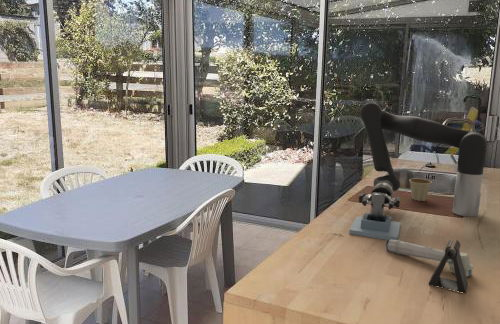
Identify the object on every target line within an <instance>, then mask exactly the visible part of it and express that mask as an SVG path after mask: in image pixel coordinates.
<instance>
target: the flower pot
mask: <svg viewBox="0 0 500 324" xmlns="http://www.w3.org/2000/svg"><path fill="white" fill-rule="evenodd" d="M409 183H410V191H411V192H410V194H411V199H412V200H413V199H414V200H413V201H416V200H417V202H420V201H422V202H426V201H427V198H428V195H429V191H430V187H431V184H432V183H433V182H432V181H431V180H429V179H425V178H410V179H409Z"/></svg>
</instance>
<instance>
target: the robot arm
mask: <svg viewBox="0 0 500 324" xmlns="http://www.w3.org/2000/svg"><path fill="white" fill-rule="evenodd" d="M359 116H360V118H361V121H363V125H364V126H365V130H366V133H367V137H368V143H369V147H370V152H371V157H372V163H373V166H374V170H375V172H381V173H382V172H386V173H387V175H382V176H377V177H376V178H374V179H373V189H372V190H371V192H370V193H369V194H366V192H365V191H362V192H360V194H359V195H358V203H361V205H363V207H366V206H367V205H368V204H369V205H371V202H372V193H373V192H380V193H384V194H385V201H384V207H388V210H391V209H394V207H395V208H399V209H400V204H401V202H400V201H401V197H400V196H396V197H393V196H394V195H393V194H394V192H396V191H399V190H400V187H401V181H400V179H399V178H398V176H397V174H396V172H395V170H394V168H393V166H392V161H391V158H390V153H389V150H388V149H389V148H388V146H387V142H386V140H385V137H384V133H383V130H385V131H390V132H392V133H396V134H398V135H401V136H405V137H407V138H411V139H414V140H417V141H420V142H425V143H432V144H440V145H447V146H451V147H453V148H456V149H458V155H457V157H458V158H457V169H456V179H455V185H454V193H453V194H454V196H453V204H452V211H451V212H452V213H453V214H456V215H458V216H462V217H467V218H468V217H470V218H471V217H472V218H473V217H476V218H478V216H479V210H480V205H481V204H480V202H481V196H482V193H481V191H482V190H481V189H482V184H483V183H482V182H483V175H484V168H485V167H484V166H485V158H486V151H487V147H488V140H487V137H486V136H485V135H484V134H482V133H481V132H479V131H471V130H464V129H459V128H455V127H451V126H448V125H446V124H443V123H440V122H438V121H433V120H431V119H428V118H424V117H419V116H415V115H396V114H393V113H389V112H387V111H385V110H382V108H381V106H380V105H378V104H377V103H375V102H367V103H365V104H363V105H362V107H361V109H360V113H359Z"/></svg>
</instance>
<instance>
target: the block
mask: <svg viewBox="0 0 500 324" xmlns="http://www.w3.org/2000/svg"><path fill="white" fill-rule="evenodd" d="M370 214H371V212H364V214H363V216H360V215H359V216H358V215H356V217H355V218H354V221H353V223H351V224H352V225H351V226H350V228H349V230H348V232H349V235H356V236H361V237H367V238H368V237H369V238H373V239H380V240H386V241H387V240H389V239H392V240H399V239H398V238H399V234H400V230H401V227H402V226H401V225H402V222H400V221H399V222H398V221H393V220H392V216H391V215H386V214H385V215H384V214H383V222H380V221H373V220H370Z"/></svg>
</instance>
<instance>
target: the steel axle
mask: <svg viewBox="0 0 500 324" xmlns="http://www.w3.org/2000/svg"><path fill="white" fill-rule="evenodd" d="M384 201H385V194H384V193H380V192H373V193H372V202H371V204H370V213H371V214H370V220H373V221H380V222H383V215H384V211H385V206H384Z"/></svg>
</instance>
